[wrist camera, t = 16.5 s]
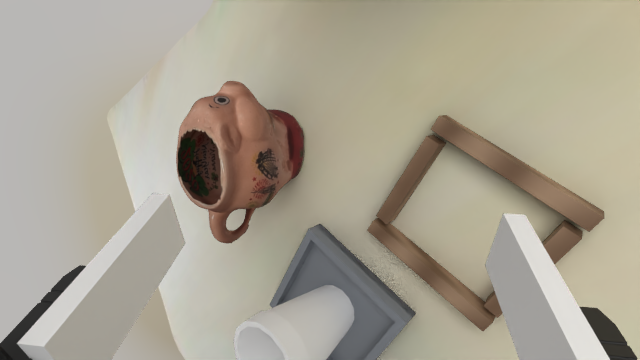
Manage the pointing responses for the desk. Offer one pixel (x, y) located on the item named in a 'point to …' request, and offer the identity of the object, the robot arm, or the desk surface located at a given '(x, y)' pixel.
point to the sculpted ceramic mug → (236, 155)
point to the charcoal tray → (357, 283)
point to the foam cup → (297, 327)
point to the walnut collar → (508, 168)
